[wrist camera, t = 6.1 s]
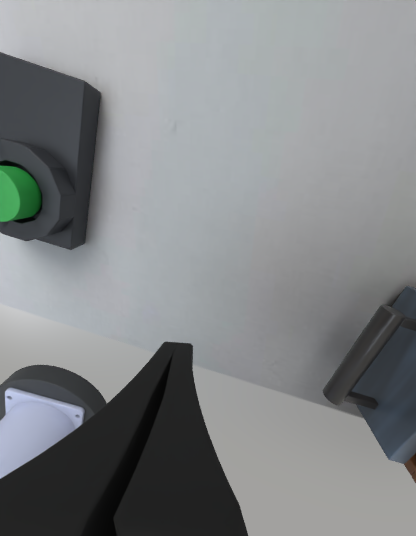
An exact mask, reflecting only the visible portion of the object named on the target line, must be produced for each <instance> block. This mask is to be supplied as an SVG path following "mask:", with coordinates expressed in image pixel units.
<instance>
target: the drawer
mask: <svg viewBox="0 0 416 536" xmlns="http://www.w3.org/2000/svg"><path fill="white" fill-rule="evenodd" d="M323 393H324V395H325V397H326V398H327V399H328V400H329V401H330V402H331V403H333V404H335V405H341V404H342V403H343V402H344V401H347V402H350V403H354V404H356V405H357V407H358V408H359V410H360V412H361V414H362V415H363V417H364V419H365V420H366V422H367V424H368V425H369V427H370V428H371V431H372V432H373V434H374V436H375V437H376V439H377V441H378V442H379V444H380V446H381V447H382V449H383V451H384V453H385V454H386V456H387V457H388V459H389V460H392V461H396V462H399V463H402V464H405V463H406V462H407V461H408V460H409V459H410V458H411V457H412V456H413V455H414V454H415V453H416V288H413V287H410V286H406V287H405V289H404V290H403V292H402V293H401V294H400V296H399V297H398V299H397V300H396V301H395V303H394V304H393V306H392V307H390V306H387V305H383V304H382V305H381V306H380V307H379V309H378V310H377V312H376V313H375V314H374V316H373V317H372V319H371V320H370V322H369V323H368V325H367V326H366V328H365V329H364V331H363V332H362V334H361V335H360V336H359V338H358V339H357V341H356V342H355V344H354V345H353V347H352V348H351V350H350V351H349V353H348V354H347V356H346V357H345V359H344V360H343V361H342V363H341V364H340V366H339V367H338V369H337V370H336V372H335V373H334V375H333V376H332V378H331V379H330V381H329V382H328V384H327V385H326V386H325V388H324V389H323Z"/></svg>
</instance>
